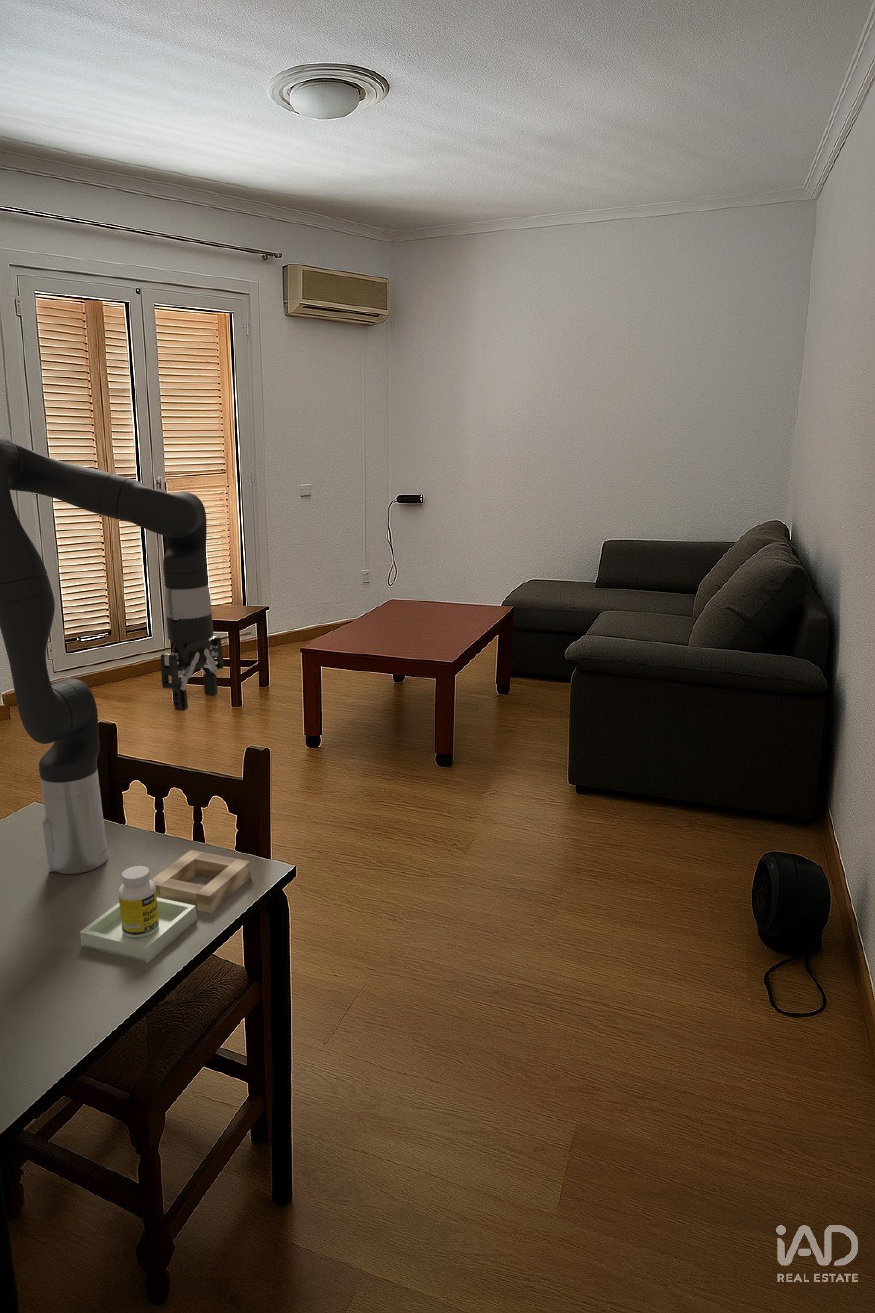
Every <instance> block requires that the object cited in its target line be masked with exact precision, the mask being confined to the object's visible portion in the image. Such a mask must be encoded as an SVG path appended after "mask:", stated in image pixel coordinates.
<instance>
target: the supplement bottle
mask: <svg viewBox="0 0 875 1313" xmlns="http://www.w3.org/2000/svg"><path fill="white" fill-rule="evenodd" d="M121 881H122V884H121V885H120V887H119V888H118V903H119V904H120V914H121V924H122V931H123V934H124V935H126V936H127V937H131V938H141V937H145V936H148V935H150V934H152V933H154V932H155V931H156V930H157V928H158V926H159V918H158V907H157V896H156V886H155V883H154V882H153V881H152V879H151V873H150V869H149V868H148V867H147V866H144V865H135V866H131V867H128V868H126V869H125V870H123V871H122V873H121Z"/></svg>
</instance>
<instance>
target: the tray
mask: <svg viewBox="0 0 875 1313" xmlns="http://www.w3.org/2000/svg"><path fill="white" fill-rule="evenodd" d="M157 907H158V918H159V926H158V928H157V930H156V931H155V932H154V933H152V934H150V935H148V936H145V937H141V938H131V937H127V936H126V935H124V934H123V931H122V924H121V914H120V904H119V902H118V903H116V904H114V905H113V906H112V907H111V908H110V909H108V910H106V912H104V913H103V914H102V915H100V916H99V917H98V918H96V919H94V921H92V922H91V923H90V924H88V925H87V926H86V927H84V928H82V929H81V930H80V931H79V937H80V938H79V939H80V943H81V944H80V946H81V947H83V948H85V949H90V950H94V951H98V952H101V953H104V954H105V953H106V954H109V955H114V956H118V957H122V958H126V959H131V960H133V961H139V962H143V963H146V964H148V963H150V962H151V961H152V960H153V959H154V958H156V956H157V955H159V954H160V953H161V952H162V951H163V950H165V948H167V947H168V946H169V945H171V943H172V942H174V941H175V940H176V939H177V938H178V937H179V936H180V935H181V934H183V933H184V932H185V931H186V930H187V929H188V928H190V926H192V925H193V924H194V923H195V922H196V921H197V920H198V917H197V916H198V915H197V910H196V906H195V905H190V904H186V903H181V902H176V901H172V900H167V899H162V898H158V897H157Z"/></svg>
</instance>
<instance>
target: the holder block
mask: <svg viewBox="0 0 875 1313" xmlns="http://www.w3.org/2000/svg"><path fill="white" fill-rule="evenodd" d="M251 870H252V869H251V860H245V859H240V858H237V857H236V858H234V857H229V856H225V855H220V854H219V855H218V854H213V853H208V852H203V851H198V850H193V849H190V850H189V851H188V852H186V853H185V854H183V855H182V856H181V857H179V858H178V859H176V861H174V862H173V863H171V864H170V865H168V867H166V868H165V869H164V870H162V871H161V872H160V873H158V874H157V875H156V876H154V877H153V878H151V880H152V881H153V882H154V883H155V886H156V896H157V897H158V898H162V899H167V900H172V901H176V902H181V903H186V904H190V905H195V906H196V911H200V912H204V913H209V914H212V912H214V911H215V909H217V908H219V906H220V905H221V904H222V903H224V902H225V901H226V900H227V899H228V898H229V897H231V896H232V895H233V894H234V893H235V892H236V891H237V890H238V889H239V888H241V885H242V884H243V885H244V884H245V883H246V882H247V881H248V880H250V879H251V878H252V871H251ZM195 875H197V876H201V877H207V878H211V880H210V881H209V882H207V884H206V885H203V884H199V883H198V884H197V883H193V882H189V881H190V880H191V879H192V878H193V877H194V876H195ZM244 882H245V883H244ZM243 885H242V886H243Z"/></svg>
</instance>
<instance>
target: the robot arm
mask: <svg viewBox="0 0 875 1313" xmlns="http://www.w3.org/2000/svg"><path fill="white" fill-rule="evenodd" d="M11 491H18V492H25V493H32V494H33V493H34V494H37V495H41V496H46V497H49V498H52V499H55V500H59V501H61V502H64V503H66V504H69V505H71V506H73V507H76V508H79V509H82V510H84V511H87V512H91V513H94V514H97V515H100V516H103V517H107V518H111V519H114V520H119V521H123V522H127V523H130V524H133V525H135V526H138V527H140V528H142V529H144V530H145V529H146V530H148V531H149V532H152V533H155V534H158V535H162V536H164V537H166V552H165V554H164V556H163V561H162V567H163V568H162V570H163V580H164V608H165V619H166V628H167V629H166V631H167V638H168V640H169V641H170V642H171V643H172V644H173V650H172V652H170V653H161V654H160V670H161V686H162V688H163V689H169V690H171V692H172V699H173V706H174V709H175V710H176V711H181V712H185V711H187V710H188V709H189V704H188V692H187V688H186V687H187V683H188V682H189V681H188V680H189V679H191V678H192V677H193V674H194V672H196V671H197V670H198V669H200V670H201V672H202V673H203V690H204V695H206V696H209V697H215V696H216V695H217V694H218V680H217V675H218V674H219V670H220V669H222V670H223V668H224V667H225V663H224V662H225V661H224V655H223V646H222V645H223V644H222V637H220V636H214V626H213V625H214V624H213V613H212V612H213V611H212V600H211V595H210V589H209V585H208V584H209V581H208V569H207V568H208V567H207V562H206V547H207V524H208V522H207V513H206V508H205V505H204V504H203V502H202V500H201V499H200V498H199V497H198V496H197V495H196V494H193V493H192V492H188V491H178V492H174V493H171V492H166V491H162V490H158V489H154V488H151V487H148V486H147V485H145V483H142V482H141V481H139V480H135V479H132V478H130V477H125V476H123V475H119V474H115V473H112V472H107V471H104V470H101V469H96V468H91V467H87V466H84V465H78V464H73V463H69V462H64V461H61V460H58V459H55V458H51V457H49V456H46V455H43V454H41V453H38V452H36V451H33V450H32V449H29V448H27V447H24V446H23V445H21V444H18V443H16V442H14V441H12V440H10V439H9V438H7V437H5V436H3V435H1V434H0V632H1V636H2V639H3V643H4V646H5V651H6V654H7V658H8V661H9V662H8V663H9V666H10V673H11V679H12V685H13V689H14V694H15V702H16V703H17V704H16V706H17V711H18V713H19V718H20V721H21V724H22V726H23V728H24V730H25V732H26V733H27V734H28V736H29V737H30V738H31V739H32V740H33V741H34V742H37V743H38V744H42V745H48V744H52V743H53V744H52V746H50V748H49V749H48V750H47V751H46V752H45V754H43V756H42V757H41V758H40V760H39V762H38V772H39V777H40V778H39V779H40V786H41V793H42V800H43V808H44V816H45V817H44V819H43V821H42V831H43V837H44V843H45V846H44V847H45V853H46V859H47V865H48V866H47V867H48V872H49V873H51V872H54V873H59V874H63V875H73V874H75V875H76V874H82V873H86V872H90V871H92V870H95V869H97V868H99V867H101V866H102V865H103V864H105V863H106V861H107V860H108V857H109V856H108V845H107V839H106V828H105V822H104V814H103V805H102V796H101V787H100V781H99V780H100V779H99V771H98V762H97V761H98V757H99V755H100V745H101V744H100V734H99V728H100V727H99V716H98V706H97V703H96V699H95V696H94V694H93V692H92V690H91V688H90V687H89V686H88V685H87V683H85V682H83V681H82V680H80V679H77V678H67V679H62V680H59V681H57V682H54V683H51V679H50V676H49V671H48V666H47V649H48V644H49V643H48V642H49V638H50V634H51V630H52V626H53V621H54V616H55V608H56V602H55V597H54V593H53V589H52V584H51V581H50V578H49V575H48V571H47V569H46V565H45V563H44V561H43V558H42V557H41V554H40V553H39V551H38V550H37V548H36V546H35V544H34V543H33V542H32V540H31V539H30V537H29V535H28V534H27V532H26V530H25V529H24V527H23V525H22V523H21V522H20V519H19V517H18V514H17V512H16V509H15V506H14V503H13V499H12V494H11ZM215 657H216V661H215ZM180 669H181V670H180ZM170 677H171V678H170ZM169 678H170V679H169ZM179 678H180V682H179Z"/></svg>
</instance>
